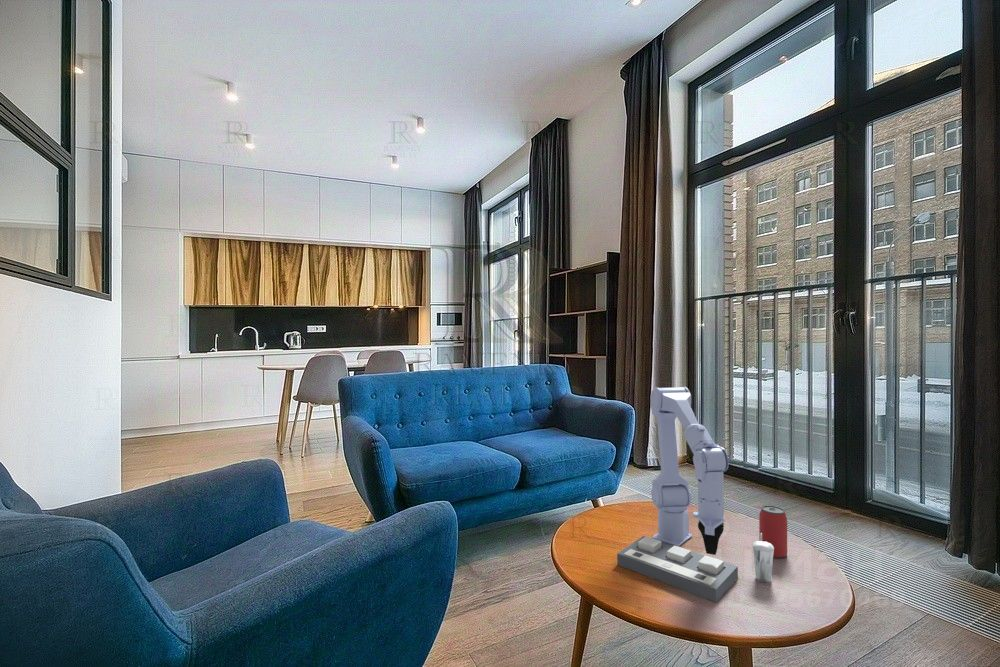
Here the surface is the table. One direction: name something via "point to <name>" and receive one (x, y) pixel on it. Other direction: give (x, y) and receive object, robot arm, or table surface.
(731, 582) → the button board
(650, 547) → the key
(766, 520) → the beer can
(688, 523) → the robot arm
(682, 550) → the key middle
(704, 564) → the key
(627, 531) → the table surface
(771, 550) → the milkshake
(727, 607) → the table surface
